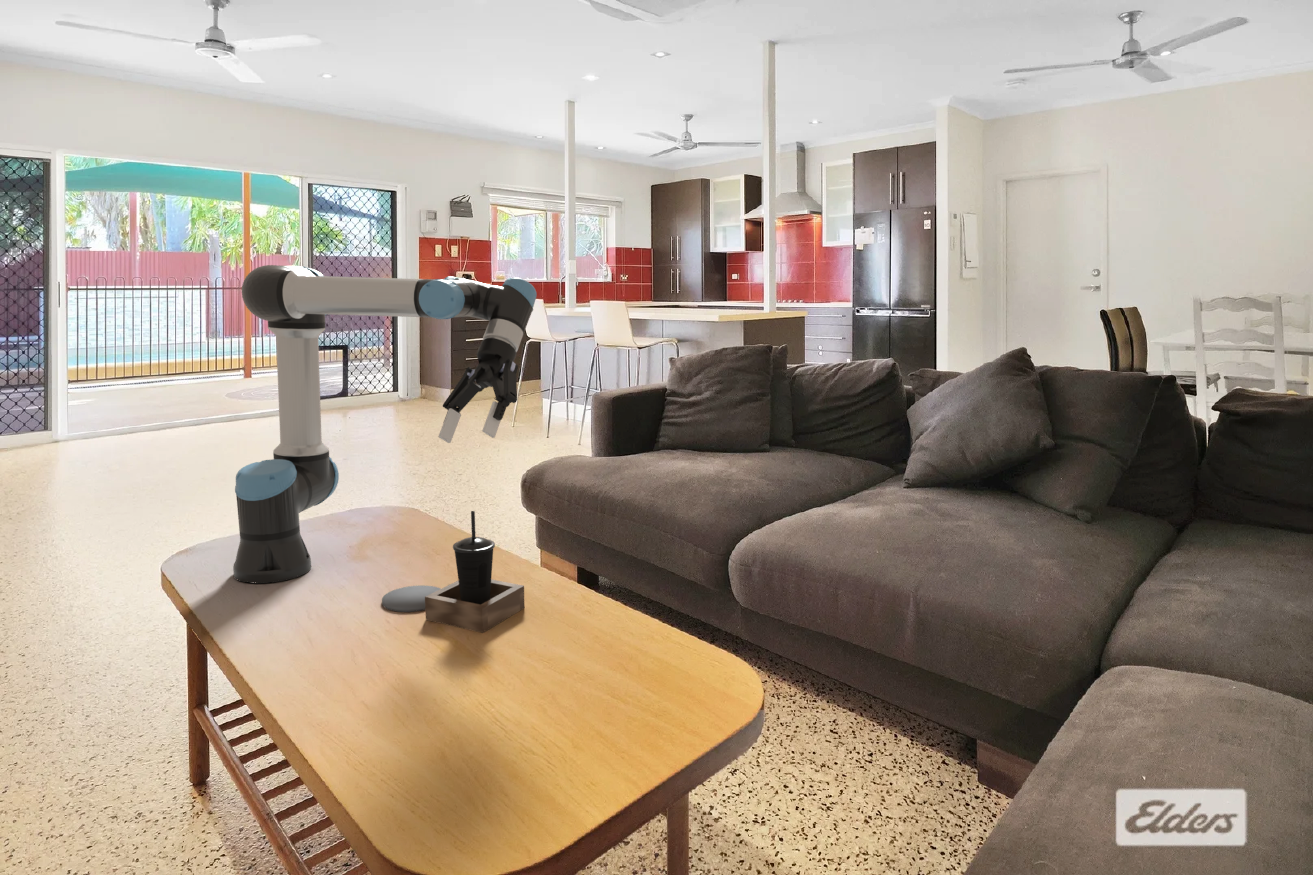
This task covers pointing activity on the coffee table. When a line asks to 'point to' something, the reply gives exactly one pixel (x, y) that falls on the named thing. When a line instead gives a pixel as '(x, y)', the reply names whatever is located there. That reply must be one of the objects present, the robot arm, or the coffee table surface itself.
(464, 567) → the drinking cup
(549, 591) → the coffee table surface
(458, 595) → the wooden square tray
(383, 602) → the coaster
